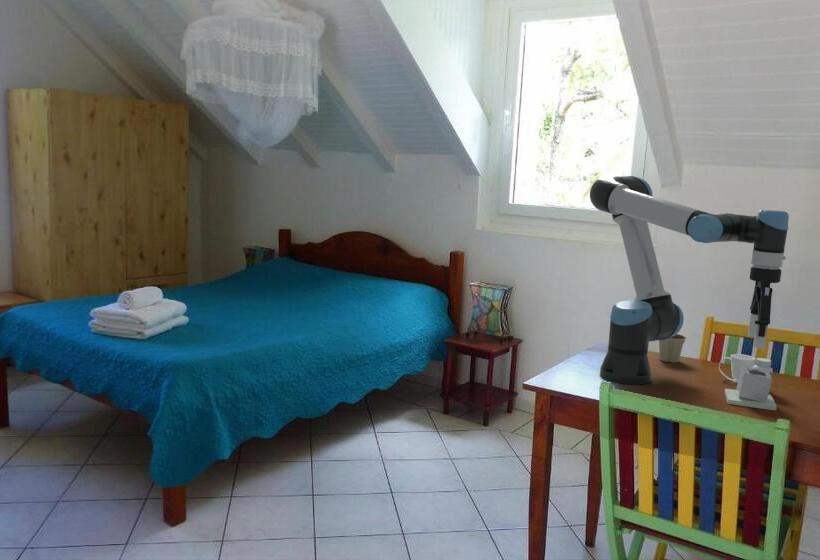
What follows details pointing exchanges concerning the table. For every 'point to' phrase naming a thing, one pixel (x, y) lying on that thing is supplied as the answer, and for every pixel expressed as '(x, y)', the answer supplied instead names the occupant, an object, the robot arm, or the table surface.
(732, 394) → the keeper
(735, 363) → the cup
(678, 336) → the flower pot
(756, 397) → the hollow grey square tube
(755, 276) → the robot arm
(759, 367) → the pill bottle
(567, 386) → the table surface
